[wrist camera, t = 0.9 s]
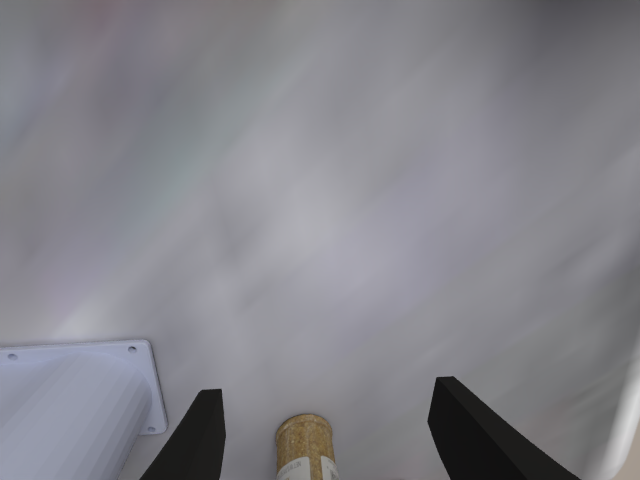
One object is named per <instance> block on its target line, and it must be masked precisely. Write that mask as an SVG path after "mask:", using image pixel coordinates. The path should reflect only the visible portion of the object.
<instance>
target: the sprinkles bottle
mask: <svg viewBox="0 0 640 480" xmlns="http://www.w3.org/2000/svg"><path fill="white" fill-rule="evenodd" d="M276 445H277V477H276V480H339V476H338V470H337V467H336V465H335V459H334V452H333V446H332V429H331V426H330V425H329V423H328V422H327V421H326V420H324V419H323V418H321V417H319V416H316V415H312V414H308V415H305V414H303V415H300V416H296V417H292V418H291V419H288V420H287V421H286V422H284V423H283V425H282V426H281V427H280V428H279V429H278V431H277V434H276Z"/></svg>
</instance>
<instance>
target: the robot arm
mask: <svg viewBox="0 0 640 480" xmlns="http://www.w3.org/2000/svg"><path fill="white" fill-rule="evenodd" d="M131 346H132V347H135V348H136V349H133V348H132V347H131ZM14 354H15V355H14ZM427 422H428V425H429V428H430V431H431V434H432V437H433V440H434V442H435V445H436V448H437V450H438V453H439V456H440V458H441V460H442V462H443V464H444V466H445V468H446V470H447V473H448V475H449V477H450V479H451V480H581V479H579V478H578V477H576V476H575V475H574V474H572V473H571V472H569V471H568V470H567V469H565V468H564V467H562V466H561V465H560V464H558V463H557V462H556V461H554V460H553V459H552V458H551V457H549V456H548V455H547V454H545V453H544V452H543V451H542V450H540V449H539V448H538V447H536V446H535V445H534V444H533V443H531V442H530V441H529V440H528V439H526V438H525V437H524V436H523V435H521V434H520V433H519V432H518V431H516V430H515V429H514V428H513V427H512V426H510V425H509V424H508V423H507V422H506V421H505V420H503V419H502V418H501V417H500V416H499V415H497V414H496V413H495V412H494V411H493V410H492V409H491V408H489V407H488V406H487V405H486V404H485V403H484V402H482V401H481V400H480V399H479V398H478V397H477V396H476V395H474V394H473V393H472V392H471V391H470V390H469V389H468V388H466V387H465V386H464V385H463V384H462V383H461V382H459V381H458V380H457V379H456V378H455V377H453V376H451V377H436V382H435V387H434V392H433V397H432V402H431V406H430V411H429V416H428V421H427ZM167 426H168V423H167V418H166V414H165V409H164V404H163V400H162V395H161V390H160V386H159V381H158V376H157V372H156V367H155V362H154V358H153V353H152V348H151V345H150V343H149V342H148V341H146V340H142V339H141V340H124V341H107V342H89V343H72V344H55V345H38V346H21V347H4V348H0V480H117V479H118V476H119V474H120V472H121V470H122V468H123V466H124V464H125V461H126V459H127V457H128V455H129V453H130V451H131V449H132V447H133V444H134V442H135V440H136V438H137V436H138V435H149V434H160V433H163V432H165V431H166V429H167ZM225 438H226V432H225V421H224V410H223V399H222V389H210V390H201V391H200V392H199V393H198V395H197V396H196V398H195V400H194V401H193V403H192V405H191V406H190V408H189V410H188V411H187V413H186V414H185V416H184V417H183V419H182V420H181V422H180V424H179V425H178V427H177V428H176V430H175V431H174V433H173V434H172V435H171V437H170V438H169V440H168V441H167V443H166V444H165V445H164V447H163V448H162V450H161V451H160V453H159V454H158V455H157V457H156V458H155V460H154V461H153V462H152V464H151V465H150V466H149V468H148V469H147V470H146V472H145V473H144V474H143V475H142V477H141V478H140V479H139V480H219V478H220V474H221V467H222V460H223V453H224V446H225Z"/></svg>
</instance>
